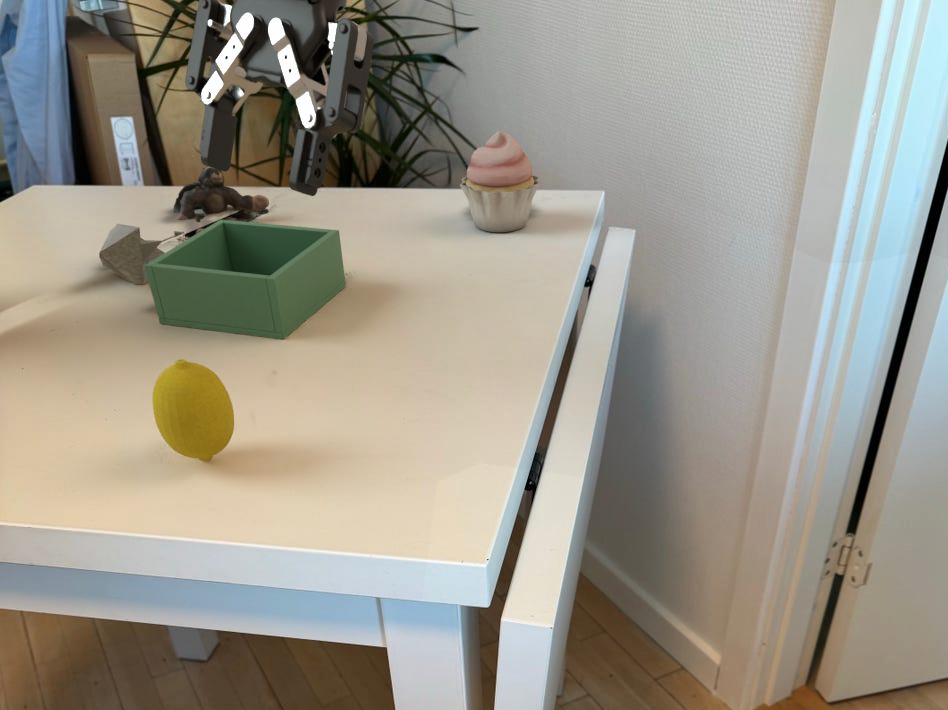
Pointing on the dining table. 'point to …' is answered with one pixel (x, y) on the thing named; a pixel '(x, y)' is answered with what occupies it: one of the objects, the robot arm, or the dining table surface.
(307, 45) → the robot arm
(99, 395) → the dining table surface
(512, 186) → the cupcake
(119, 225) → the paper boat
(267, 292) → the bin
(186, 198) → the stuffed animal
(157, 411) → the lemon
